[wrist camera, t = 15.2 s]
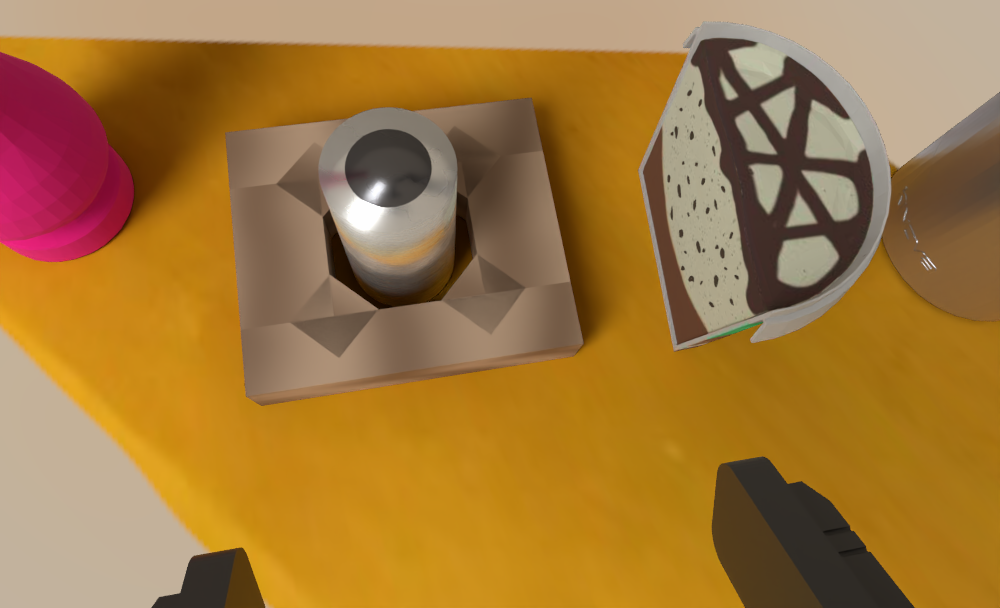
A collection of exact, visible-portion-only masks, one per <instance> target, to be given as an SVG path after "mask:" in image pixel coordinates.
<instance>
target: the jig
mask: <svg viewBox="0 0 1000 608" xmlns="http://www.w3.org/2000/svg"><path fill="white" fill-rule="evenodd" d="M413 112H416V113H418V114H420V115H423V116H424V117H426V118H428V119H429V120H431V121H432V122H433V123H435V124H436V125H437V126H438V127H439V128H440V129H441V130H442V131H443V132H444V133H445V135H446V136H447V137H448V139H449V141H450V142H451V144H452V146H453V149H454V151H455V155H456V159H457V197H456V214H457V215H459V216H460V217H462V218H463V219H464V220H466V223H467V229H468V234H469V240H470V246H471V251H472V257H473V260H472V261H471V262H470V264H469V265H468V266H467V268H466V269H465V270H464V271H463V273H462V274H461V275H460V277H459V278H458V279H457V281H456V282H455V283H454V284H453V286H452V287H451V288H450V290H449V291H448V292H447V294H446V295H445V296H444V297H443V299H442V300H441V301H434V302H428V303H421V304H414V305H407V306H400V307H393V308H386V309H380V310H378V309H377V308H376V307H375V306H373V305H372V304H370V303H369V302H368V301H366V300H365V299H363V298H362V297H360V296H359V295H358V294H356V293H355V292H353V291H352V290H351V289H349V288H348V287H346V286H345V285H344V284H342V283H341V282H339V281H338V280H337V279H336V274H335V266H334V257H333V249H332V240H331V238H332V237H333V236H334V235H335V234H336V233H337V228H336V225H335V223H334V220H333V217H332V215H331V212H330V209H329V207H328V204H327V201H326V199H325V196H324V194H323V191H322V188H321V185H320V180H319V160H320V156H321V152H322V150H323V147H324V145H325V143H326V141H327V140H328V138H329V137H330V135H331V134H332V133H333V131H334V130H335V129H336V128H337V127H338V126H339V125H341V124H342V123H343V122H345V121H346V120H347V119H340V120H332V121H323V122H314V123H305V124H297V125H288V126H279V127H270V128H262V129H253V130H244V131H235V132H226V133H225V134H226V147H227V160H228V173H229V185H230V198H231V211H232V224H233V236H234V249H235V262H236V275H237V288H238V300H239V313H240V326H241V339H242V351H243V364H244V377H245V390H246V397H248V398H249V399H251V400H253V401H254V402H256V403H258V404H259V405H261V406H263V405H269V404H275V403H282V402H288V401H294V400H301V399H307V398H313V397H319V396H326V395H332V394H338V393H345V392H351V391H357V390H364V389H370V388H376V387H382V386H389V385H395V384H401V383H408V382H414V381H420V380H427V379H433V378H439V377H445V376H452V375H458V374H464V373H471V372H477V371H483V370H490V369H496V368H502V367H508V366H515V365H521V364H527V363H534V362H540V361H546V360H553V359H559V358H565V357H571V356H574V355H575V354H576V352H577V351H578V350H579V349H580V347H581V346H582V345H583V344H584V343H583V338H582V333H581V329H580V324H579V319H578V315H577V310H576V305H575V300H574V296H573V291H572V286H571V281H570V277H569V272H568V267H567V263H566V258H565V253H564V248H563V244H562V239H561V234H560V230H559V225H558V220H557V215H556V211H555V206H554V201H553V197H552V192H551V187H550V182H549V178H548V173H547V168H546V163H545V159H544V154H543V149H542V145H541V140H540V135H539V130H538V126H537V121H536V116H535V112H534V107H533V102H532V98H525V99H516V100H507V101H498V102H490V103H481V104H472V105H463V106H454V107H446V108H437V109H428V110H419V111H413Z"/></svg>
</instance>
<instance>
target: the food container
mask: <svg viewBox="0 0 1000 608" xmlns="http://www.w3.org/2000/svg"><path fill="white" fill-rule="evenodd" d="M683 48H690V51H689V53H688V55H687V58H686V60H685V62H684V65H683V67H682V69H681V72H680V74H679V76H678V79H677V81H676V83H675V86H674V88H673V90H672V92H671V95H670V97H669V99H668V102H667V104H666V106H665V109H664V111H663V113H662V116H661V118H660V120H659V123H658V125H657V127H656V130H655V132H654V134H653V137H652V139H651V141H650V144H649V146H648V148H647V151H646V153H645V155H644V158H643V160H642V162H641V165H640V167H639V169H638V172H639V177H640V182H641V187H642V192H643V197H644V202H645V207H646V212H647V217H648V222H649V227H650V232H651V237H652V242H653V247H654V253H655V258H656V263H657V268H658V273H659V278H660V283H661V288H662V293H663V298H664V303H665V308H666V313H667V318H668V323H669V328H670V333H671V338H672V343H673V348H674V351H679V350H684V349H689V348H694V347H698V346H701V345H704V344H706V343H709V342H712V341H715V340H717V339H720V338H723V337H726V336H728V335H731V334H734V333H737V332H740V331H742V330H745V329H748V328H751V327H753V326H756V325H759V324H762V323H763V324H762V325H761V326H760V328H759V329H758V330H757V331H756V333H755V334H754V335H753V336H752V337H751V339H750V340H751V343H755V342H759V341H764V340H769V339H774V338H777V337H780V336H783V335H785V334H788V333H791V332H793V331H796V330H798V329H801V328H802V327H804V326H806V325H807V324H809V323H811V322H812V321H814V320H816V319H817V318H819V317H821V316H822V315H823V314H824V313H825V312H826V311H828V310H829V309H830V308H831V307H832V306H833V305H835V304H836V303H837V302H838V301H839V300H840V299H841V298H842V297H843V295H844V294H845V293H846V292H847V291H848V290H849V288H850V287H851V286H852V285H853V284H854V283H855V281H856V280H857V279H858V278H859V276H860V275H861V274H862V272H863V271H864V270H865V269H866V267H867V266H868V265H869V263H870V261H871V259H872V257H873V255H874V253H875V251H876V249H877V248H878V246H879V243H880V239H881V236H882V233H883V230H884V227H885V223H886V220H887V217H888V214H889V206H890V197H891V177H890V166H889V162H888V157H887V153H886V148H885V144H884V142H883V140H882V137H881V134H880V132H879V129H878V127H877V124H876V122H875V121H874V119H873V117H872V115H871V114H870V112H869V110H868V108H867V107H866V105H865V103H864V102H863V101H862V99H861V98H860V97H859V95H858V94H857V93H856V91H855V90H854V89H853V88H852V86H851V85H850V84H849V83H848V82H847V81H846V80H845V79H844V78H843V77H842V76H841V75H840V74H839V73H838V72H837V71H836V70H835V69H834V68H833V67H832V66H830V65H829V64H827V63H826V62H825V61H824V60H822V59H821V58H820V57H818V56H817V55H816V54H815V53H813V52H811V51H809V50H808V49H806V48H804V47H802V46H801V45H799V44H797V43H796V42H794V41H792V40H789V39H787V38H785V37H782V36H780V35H778V34H775V33H773V32H770V31H766V30H763V29H759V28H756V27H752V26H749V25H743V24H736V23H728V22H703V23H702V25H701V26H700V27H696V28H695V29H694V30H693V32H692V33H691V34H690V36H689V37H688V38H687V39H686V41H685V42H684V44H683Z"/></svg>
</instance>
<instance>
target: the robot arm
mask: <svg viewBox="0 0 1000 608" xmlns="http://www.w3.org/2000/svg"><path fill="white" fill-rule="evenodd" d="M882 238H883V242H884V246H885V248H886V250H887V252H888V255H889V257H890V259H891V261H892V263H893V265H894V266H895V268H896V269H897V271H898V272H899V273H900V275H901V276H902V278H903V279H904V280H905V281H906V282H907V283H908V284H909V285H910V286H911V287H912V288H913V289H914V290H915V291H916V292H917V293H918V294H919V295H920V296H921V297H923V298H924V299H926V300H927V301H929V302H930V303H931V304H933V305H934V306H936V307H938V308H940V309H942V310H944V311H946V312H948V313H951V314H953V315H955V316H959V317H963V318H967V319H971V320H975V321H998V320H1000V92H999V93H998V94H996V95H995V96H994V97H993V98H991V99H990V100H988V101H987V102H986V103H985V104H983V105H982V106H981V107H979V108H978V109H977V110H975V111H974V112H973V113H972V114H970V115H969V116H968V117H966V118H965V119H964V120H962V121H961V122H960V123H958V124H957V125H956V126H954V127H953V128H952V129H950V130H949V131H948V132H946V133H945V134H944V135H943V136H941V137H940V138H939V139H937V140H936V141H935V142H933V143H932V144H931V145H929V146H928V147H927V148H925V149H924V150H923V151H922V152H920V153H919V154H918V155H916V156H915V157H914V158H912V159H911V160H910V161H908V162H907V163H906V164H905V165H903V166H902V167H901V168H900V169H899V170H898V171H897V172H896V173H895V175H894V176H893V177H892V178H891V197H890V206H889V214H888V217H887V220H886V223H885V227H884V230H883V233H882ZM712 535H713V541H714V546H715V549H716V552H717V555H718V558H719V560H720V562H721V564H722V566H723V568H724V570H725V572H726V573H727V575H728V577H729V579H730V581H731V583H732V584H733V586H734V588H735V590H736V592H737V593H738V595H739V597H740V599H741V601H742V603H743V604H744V606H745V608H914V606H913V605H912V604H911V603H910V601H909V600H908V599H907V598H906V596H905V595H904V594H903V593H902V591H901V590H900V589H899V588H898V586H897V585H896V584H895V582H894V581H893V580H892V579H891V577H890V576H889V575H888V574H887V572H886V571H885V570H884V569H883V567H882V566H881V565H880V564H879V562H878V561H877V560H876V558H875V557H874V556H873V555H872V553H871V552H868V551H867V550H866V546H865V545H864V543H863V542H862V541H861V540H860V538H859V537H858V536H857V534H856V533H855V532H854V531H851V530H850V526H849V524H848V523H847V522H846V521H845V519H844V518H843V517H842V515H841V514H840V513H839V512H838V510H837V509H836V508H835V507H834V505H833V504H832V503H831V502H830V501H829V500H828V499H826V498H825V497H823V496H822V495H821V494H819V493H818V492H816V491H815V490H813V489H812V488H810V487H809V486H807V485H806V484H804V483H803V482H802V481H801V482H796V483H790V484H787V483H786V481H785V480H784V479H783V477H782V476H781V475H780V473H779V472H778V471H777V469H776V468H775V467H774V465H773V464H772V463H771V462H770V460H768V459H767V458H765V457H757V458H751V459H745V460H740V461H734V462H729V463H723V464H721V465H720V466H719V468H718V472H717V480H716V490H715V500H714V510H713V520H712ZM152 608H265V604H264V602H263V599H262V596H261V593H260V590H259V588H258V585H257V582H256V579H255V576H254V574H253V571H252V568H251V565H250V562H249V560H248V557H247V554H246V552H245V550H244V549H243V548H235V549H230V550H224V551H219V552H213V553H207V554H202V555H196V556H193V557H192V558H191V560H190V562H189V564H188V567H187V571H186V574H185V578H184V582H183V585H182V589H181V593H179V594H174V595H169V596H163V597H159V598H158V599H157V601H156V602H155V604H154V605H153V606H152Z"/></svg>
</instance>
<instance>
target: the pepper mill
mask: <svg viewBox="0 0 1000 608" xmlns="http://www.w3.org/2000/svg"><path fill="white" fill-rule="evenodd" d="M133 199H134V184H133V179H132V176H131V173H130V171H129V168H128V167H127V165H126V164H125V162H124V161H123V159H122V158H121V157H120V156H119V155H118V154H117V152H116V151H115V150H114V149H113V148H112V147H111V146H110V145H109V144H108V142H107V137H106V132H105V130H104V127H103V125H102V123H101V121H100V119H99V117H98V116H97V114H96V113H95V111H94V109H93V108H92V107H91V106H90V105H89V104H88V103H87V102H86V101H85V100H84V99H83V98H82V97H81V96H80V95H79V94H78V93H77V92H76V91H75V90H73V89H72V88H71V87H70V86H69V85H67V84H66V83H65V82H63V81H62V80H61V79H59V78H58V77H56V76H54V75H52V74H51V73H49V72H47V71H45V70H44V69H42V68H40V67H38V66H36V65H34V64H32V63H29V62H27V61H24V60H21V59H18V58H16V57H13V56H10V55H7V54H4V53H1V52H0V242H1V243H3V244H4V245H6V246H8V247H9V248H11V249H12V250H14V251H16V252H17V253H19V254H21V255H24V256H26V257H29V258H32V259H34V260H39V261H46V262H61V261H67V260H73V259H76V258H79V257H82V256H85V255H88V254H90V253H92V252H94V251H96V250H98V249H99V248H101V247H102V246H104V245H106V244H107V243H108V242H109V241H110V240H111V239H112V238H113V237H114V236H115V235H116V234H117V233H118V232H119V231H120V230H121V229H122V227H123V225H124V223H125V221H126V219H127V218H128V216H129V214H130V211H131V208H132V204H133Z"/></svg>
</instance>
